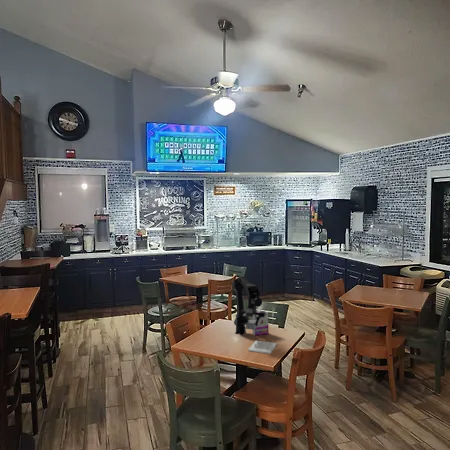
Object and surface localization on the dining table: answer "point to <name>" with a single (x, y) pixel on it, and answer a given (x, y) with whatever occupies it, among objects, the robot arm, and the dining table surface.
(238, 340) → the dining table surface
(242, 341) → the dining table surface
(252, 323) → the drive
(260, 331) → the candy bar box
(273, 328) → the dining table surface
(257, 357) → the dining table surface
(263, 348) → the tray
